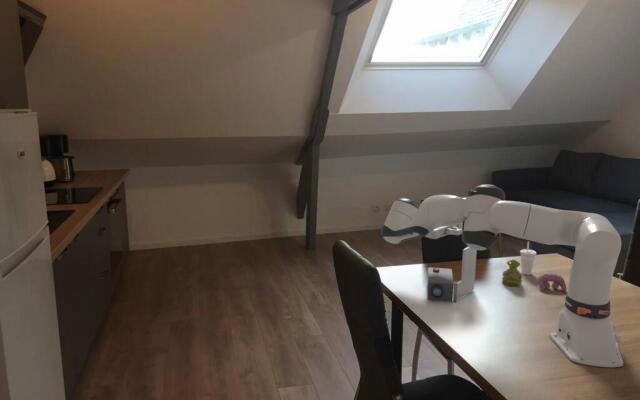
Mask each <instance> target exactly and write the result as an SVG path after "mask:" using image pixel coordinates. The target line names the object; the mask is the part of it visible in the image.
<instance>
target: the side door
mask: <svg viewBox="0 0 640 400" xmlns="http://www.w3.org/2000/svg"><path fill="white" fill-rule="evenodd" d="M477 251H478V250H475V249H472V248H470V247H469V246H466V247H465V248H463V249H462V262H461V263H462V264H461V278H460V279H461V280H459V281H457V282H453V283H454V286H453V302H452V303H457V302H458V301H459V300H460V299H462V298H464V297H465V296H467V295H468V294H469V293H471V292H473V291H474V290H475V283H476V282H475V279H476V265H477V253H478V252H477Z"/></svg>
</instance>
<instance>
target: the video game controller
mask: <svg viewBox="0 0 640 400" xmlns="http://www.w3.org/2000/svg"><path fill="white" fill-rule="evenodd" d="M537 281H538V286H539V290H540V291H541V292H543V291H544V290H545V289H550V288H551V287H552V289H554V290H557V289H559V287H560V288H561V290H562V291H563V292H564V293H565V292H566V293H567V290H568V287H567V284H566V283H565V282H566V281H565V279H564V278H563V277H562V275H559V274H556V273H545V274H542V275H539V276H538V278H537ZM550 282H551V283H552V284H550Z"/></svg>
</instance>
